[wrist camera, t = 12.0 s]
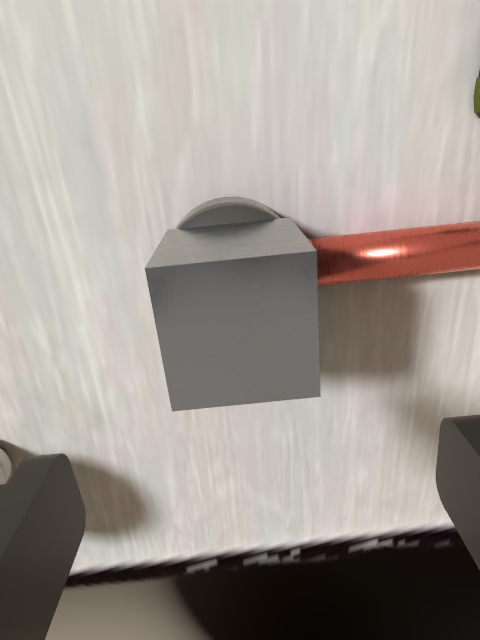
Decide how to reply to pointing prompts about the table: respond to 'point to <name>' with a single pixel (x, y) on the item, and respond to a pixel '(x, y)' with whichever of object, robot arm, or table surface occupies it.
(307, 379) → the grey bevelled cube
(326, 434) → the table surface
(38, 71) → the table surface
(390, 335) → the table surface
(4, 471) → the light bulb
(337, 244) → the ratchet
